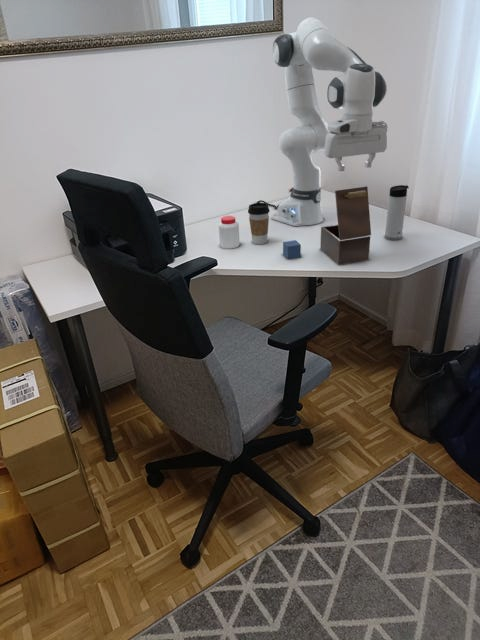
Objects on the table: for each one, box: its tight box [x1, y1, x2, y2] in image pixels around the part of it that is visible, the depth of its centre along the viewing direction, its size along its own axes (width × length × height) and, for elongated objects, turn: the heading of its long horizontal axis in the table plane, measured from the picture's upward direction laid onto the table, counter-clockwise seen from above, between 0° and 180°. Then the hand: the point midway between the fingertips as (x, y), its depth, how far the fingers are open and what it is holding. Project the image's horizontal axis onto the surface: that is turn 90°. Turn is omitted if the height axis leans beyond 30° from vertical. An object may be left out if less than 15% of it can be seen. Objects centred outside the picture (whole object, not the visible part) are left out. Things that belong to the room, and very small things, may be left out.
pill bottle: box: [218, 215, 241, 250], centre depth 191 cm, size 8×8×11 cm
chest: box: [320, 224, 371, 266], centre depth 177 cm, size 16×12×9 cm
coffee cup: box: [247, 202, 271, 245], centre depth 191 cm, size 8×8×15 cm
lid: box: [334, 185, 372, 240], centre depth 165 cm, size 16×12×5 cm
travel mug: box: [384, 184, 409, 241], centre depth 186 cm, size 6×7×20 cm
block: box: [282, 239, 302, 260], centre depth 180 cm, size 5×5×5 cm
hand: (354, 169), depth 158 cm, fingers open, 8 cm apart
